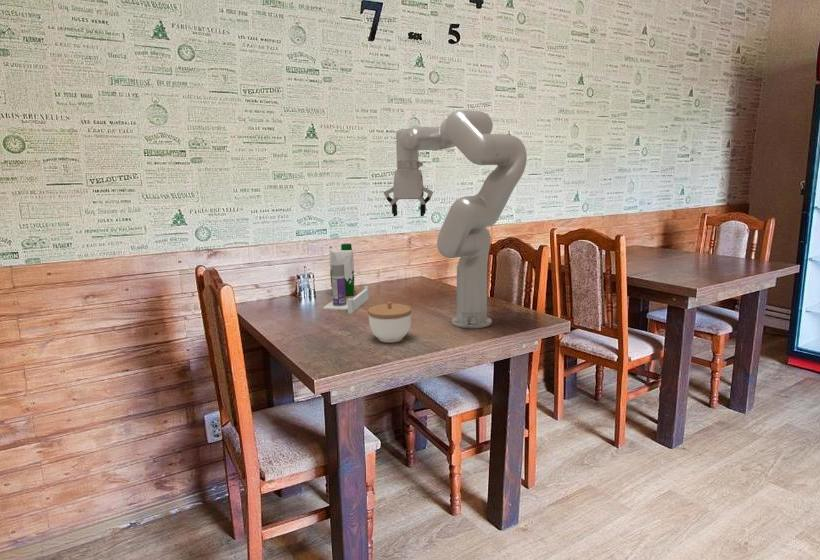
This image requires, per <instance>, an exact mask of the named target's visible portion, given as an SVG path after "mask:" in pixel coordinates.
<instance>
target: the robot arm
mask: <svg viewBox="0 0 820 560" xmlns="http://www.w3.org/2000/svg"><path fill="white" fill-rule="evenodd" d="M493 127H494V124H493V120H492V118H491V116H489V115H488V114H487V113H486V112H483V111H481V110H467V109H466V110H465V109H458V110H454V111H453V112H451V113H449V115H448V116H447V117H446V119H443V121H442V123H441V125H440V126H436V127H435V126H412V127H408V128H399V129H398V130H397V131H396V132H395V133H396V134H395V143H396V144H395V146H396V170H395V171H394V175H393V186H392V187H390V188H389V189H387V190H385V191H384V192H383V196H384V197H385V198H386V200H387V202H389V204H390V205H391V214H392V215H393V217H397V216H398V205H397V202H398V201H399V200H418V201H419V202H420V205H419V208H420V213H419V214H420V217H424V216H425V214H426V211H427V210H426V204H427V203H428V202H429V201H430V200H431V198H432V196H433V194H434V191H433V190H431V189H429V188H427V187H425V186H424V180H423V179H424V178H423V173H422V170H421V169H420V167H424V166H423V165H424V163H423V162H422V161H421V162H420V160H419V151H440V150H447V149H451V148H454V147H456V148H457V149H458V151H460V152H461V153H462V154H463V156H464V157H465V158H466V159H467V160H468V161H469V162H470V163H472V164H475V165H478V166H496V167H495V168H494V169H493V170H492V172H490V173H489V174H488V176H487V177H486V178H485V180H484V182H483V184H482V186H481V188H480V190H479V191H478V193H477V194H475V195H468V196H466V195H465V196H462V197H459V198H457V199H456V200H455V201H454V202H453V203H452V205H451V206H450V208H449V209H448V211H447V214H446V217H445V219H444V221H443V224H442V225H441V228H440V229H439V232H438V235H437V240H436V245H437V246H436V247H437V250H438V252H439V254H441V256H443V257H445V258H447V259H455V258H459V259H458V262H457V265H456V316H454V317H453V318H452V319H451V324H452V325H454V326H455V327H458V328H462V329H482V328H486V327H490V325H492V322H493V321H492V320H493V319H492V318H490V317H488V314H487V313H488V263H489V262H488V261H489V253H490V249H491V244H492V242H491V241H492V238H491V233H490V231H489V230H488V227H491V226H494V225H495V224H496V223H497V221H498V220H499V218H500V217H501V214H502V213H503V210H504V209H505V207H506V204H508V201H509V200H510V197H511V195H512V193H513V191H514V189H515V188H516V186H517V184H518V183H519V182H520V180H521V179H522V176H523V175H524V172H525V170H526V165H527V160H528V159H527V158H528V156H527V149H526V147H525V144H524V143H523V140H521V139H520V138H518V137H517V136H515V135H512V134H506V133H504V134H503V133H492V131H493ZM425 193H427V196H426V197H425V198H424V196H425ZM390 194H392V195H393V198H392V197H391V196H390Z"/></svg>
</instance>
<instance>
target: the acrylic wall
mask: <svg viewBox="0 0 820 560" xmlns="http://www.w3.org/2000/svg"><path fill="white" fill-rule="evenodd" d="M369 300H370V286H369V285H364V286H363V290H362V291H360V292H359V293H357V295H354V296H353V298H346V302H347V304H348V310H347V314H348V315H349V314H354V312H355V311H357V310H358V309H359V308H361V306H362V305H364V304H365V303H366V302H368V301H369Z"/></svg>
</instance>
